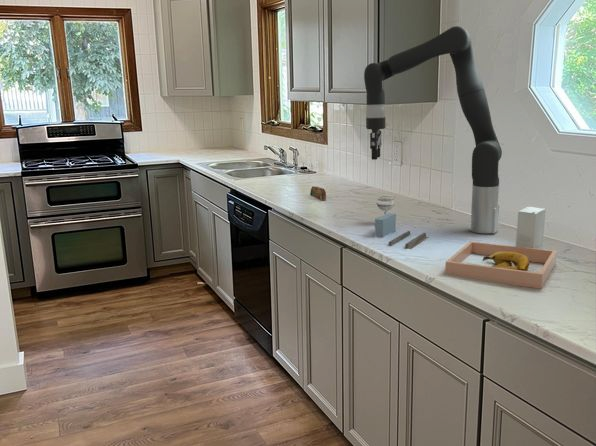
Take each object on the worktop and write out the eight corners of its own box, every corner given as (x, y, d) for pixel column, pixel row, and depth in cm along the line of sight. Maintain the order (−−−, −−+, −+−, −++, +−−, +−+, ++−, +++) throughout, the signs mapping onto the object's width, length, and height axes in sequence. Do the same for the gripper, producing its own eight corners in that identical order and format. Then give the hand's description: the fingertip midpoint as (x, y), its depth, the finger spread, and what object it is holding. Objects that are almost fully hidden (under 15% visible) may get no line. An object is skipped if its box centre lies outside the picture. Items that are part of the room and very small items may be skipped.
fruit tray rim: (555, 263, 173) (556, 250, 172) (541, 288, 152) (542, 274, 151) (469, 253, 187) (470, 241, 186) (445, 275, 165) (445, 261, 164)
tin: (309, 201, 284) (309, 185, 282) (315, 201, 285) (315, 184, 283) (321, 207, 270) (320, 189, 268) (327, 206, 271) (327, 189, 269)
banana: (504, 261, 178) (505, 243, 177) (545, 279, 160) (547, 259, 159) (460, 266, 174) (461, 248, 173) (498, 285, 156) (499, 265, 155)
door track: (428, 239, 205) (429, 233, 204) (411, 252, 190) (411, 244, 189) (405, 237, 209) (405, 230, 209) (385, 248, 194) (385, 241, 194)
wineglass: (393, 229, 221) (393, 199, 218) (376, 229, 222) (376, 199, 220) (394, 226, 227) (394, 196, 225) (377, 225, 229) (377, 196, 226)
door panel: (395, 234, 214) (395, 213, 213) (382, 241, 204) (382, 219, 203) (387, 233, 216) (388, 212, 214) (375, 240, 206) (375, 219, 204)
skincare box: (524, 250, 189) (527, 205, 185) (543, 253, 185) (546, 208, 181) (514, 255, 183) (516, 210, 179) (533, 258, 179) (536, 212, 175)
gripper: (383, 117, 213) (383, 160, 217) (387, 115, 227) (387, 156, 230) (363, 117, 215) (363, 160, 219) (368, 116, 229) (369, 156, 232)
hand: (376, 158), depth 225 cm, fingers open, 8 cm apart
